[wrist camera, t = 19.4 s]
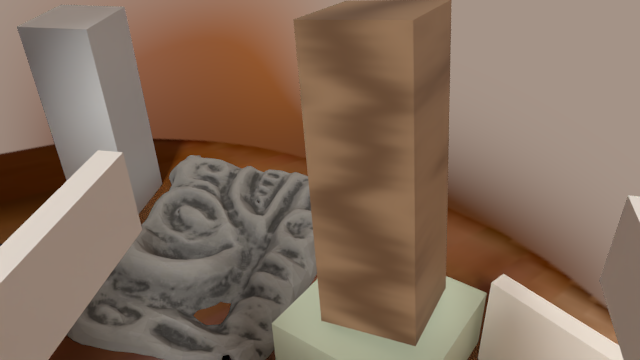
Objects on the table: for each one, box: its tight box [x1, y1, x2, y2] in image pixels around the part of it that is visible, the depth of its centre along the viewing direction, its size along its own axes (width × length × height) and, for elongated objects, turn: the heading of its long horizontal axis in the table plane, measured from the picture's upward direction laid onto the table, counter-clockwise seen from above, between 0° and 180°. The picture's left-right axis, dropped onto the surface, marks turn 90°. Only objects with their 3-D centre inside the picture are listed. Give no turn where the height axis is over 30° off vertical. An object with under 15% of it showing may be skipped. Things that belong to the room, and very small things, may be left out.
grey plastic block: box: [17, 5, 162, 214], centre depth 51 cm, size 6×6×18 cm
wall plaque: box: [67, 155, 317, 360], centre depth 48 cm, size 24×19×4 cm
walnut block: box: [294, 0, 451, 346], centre depth 32 cm, size 6×6×18 cm
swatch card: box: [478, 274, 623, 360], centre depth 34 cm, size 2×9×7 cm, turn 39°
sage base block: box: [272, 276, 487, 360], centre depth 38 cm, size 10×10×5 cm
